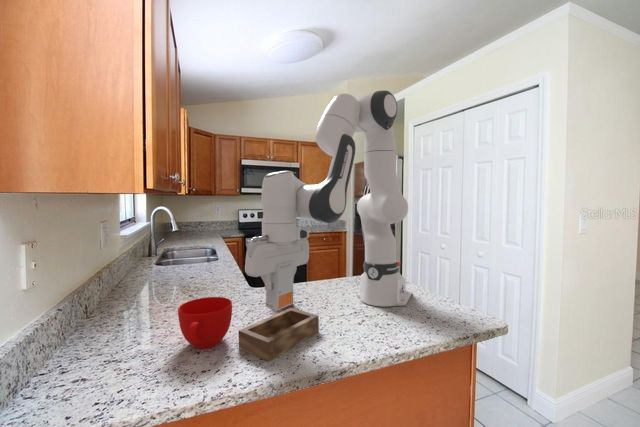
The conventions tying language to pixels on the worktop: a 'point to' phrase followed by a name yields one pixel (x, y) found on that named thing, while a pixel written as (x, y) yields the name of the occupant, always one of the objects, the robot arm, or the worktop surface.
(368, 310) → the worktop surface
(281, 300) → the skincare box
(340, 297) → the worktop surface
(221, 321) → the ceramic cup
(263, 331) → the brown hollow rectangular tray
